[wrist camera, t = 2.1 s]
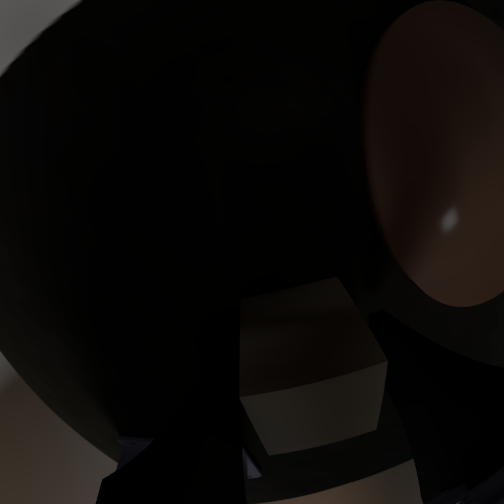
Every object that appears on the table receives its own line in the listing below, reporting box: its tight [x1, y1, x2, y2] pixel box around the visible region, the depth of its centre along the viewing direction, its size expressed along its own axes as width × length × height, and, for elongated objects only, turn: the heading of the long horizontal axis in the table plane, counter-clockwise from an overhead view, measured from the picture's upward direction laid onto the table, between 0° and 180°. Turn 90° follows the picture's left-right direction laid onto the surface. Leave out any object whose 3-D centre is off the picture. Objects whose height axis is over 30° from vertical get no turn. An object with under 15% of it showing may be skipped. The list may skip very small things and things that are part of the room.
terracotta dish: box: [357, 0, 504, 307], centre depth 8 cm, size 15×15×1 cm
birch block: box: [239, 276, 388, 455], centre depth 9 cm, size 4×4×5 cm
